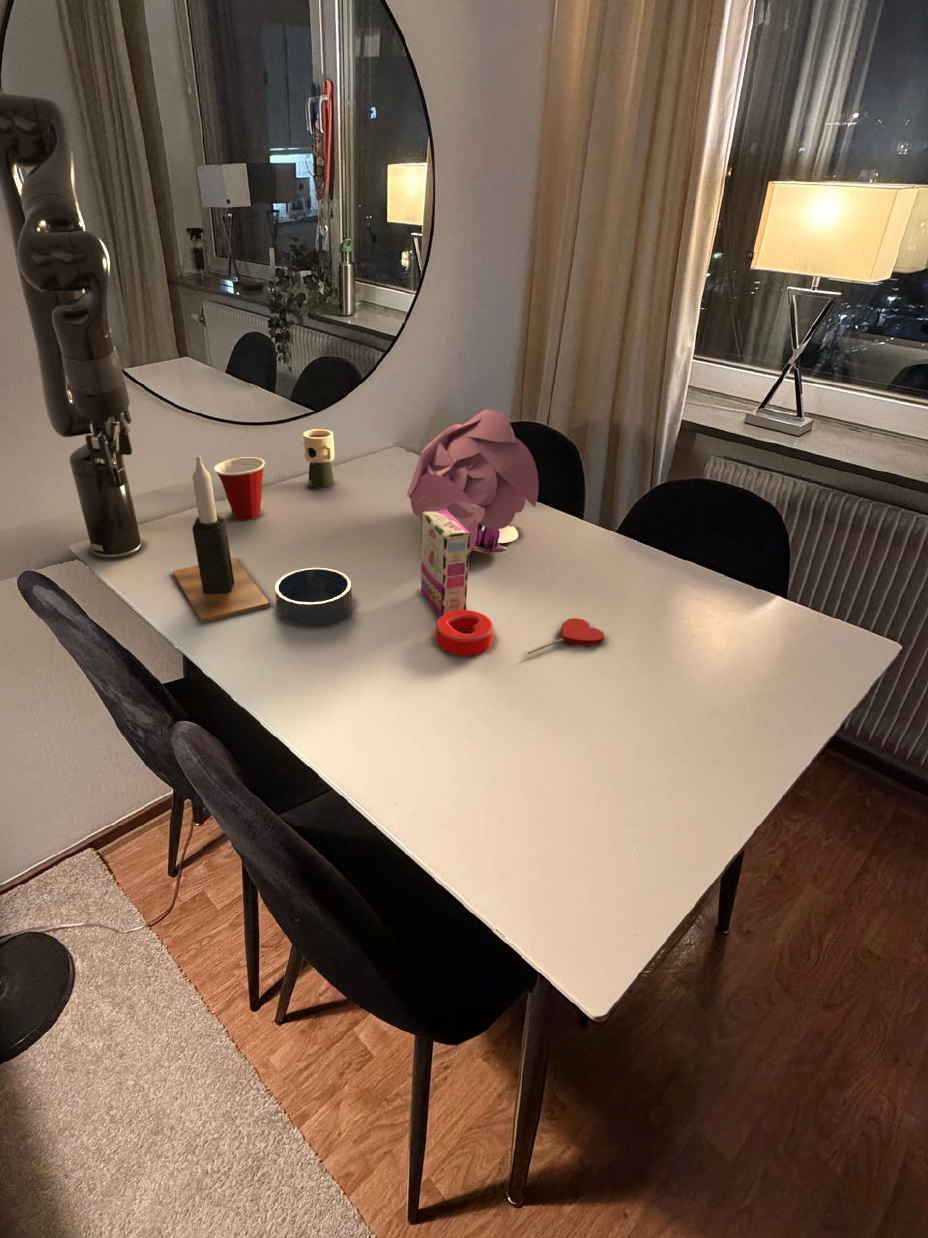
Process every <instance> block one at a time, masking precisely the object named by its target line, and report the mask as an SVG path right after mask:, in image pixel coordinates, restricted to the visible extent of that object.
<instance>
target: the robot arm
mask: <svg viewBox="0 0 928 1238" xmlns="http://www.w3.org/2000/svg"><path fill="white" fill-rule="evenodd" d="M19 169H31V170H30V172H29V173H28V174H27V175H26V176H25V178H24V180H22V179H21V176H20V174H19ZM76 185H77V184H76V168H75V160H74V151H73V143H72V137H71V133H70V129H69V125H68V121H67V118H66V115H65V112H64V111H63V109H62V107H61V106H60V105H59V104H58V102H56V101H55V100H53V99H51V98H48V97H43V96H38V95H28V94H19V93H7V92H0V193H1V196H2V200H3V204H4V206H5V207H4V208H5V211H6V215H7V219H8V224H9V229H10V233H11V240H12V244H13V250H14V255H15V260H16V266H17V270H18V271H17V272H18V275H19V276H18V277H19V280H20V285H21V289H22V294H23V298H24V302H25V305H26V309H27V313H28V316H29V322H30V326H31V329H32V334H33V337H34V342H35V348H36V352H37V359H38V365H39V372H40V373H39V374H40V381H41V386H42V393H43V399H44V405H45V410H46V414H47V417H48V420H49V423H50V424H51V427H52V429H53V430H54V432H55V433H56V434H57V435H58V436H60V437H62V438H74V437H80V436H85V442H86V443H84V444H83V445H81V446H80V447H79V448H77V449H75V450H74V451H72V453H70V455H69V465H70V468H71V473H72V477H73V481H74V484H75V487H76V493H77V495H78V499H79V504H80V507H81V513H82V516H83V519H84V520H83V521H84V524H85V527H86V532H87V535H88V540H89V543H90V549H91V554H92V555H93V556H94V557H97V558H100V559H105V560H113V559H114V560H116V559H122V558H126V557H130V556H132V555H135V554H136V553H138V552H139V551H140V550H142V548H143V541H142V539H141V535H140V529H139V524H138V519H137V516H136V510H135V507H134V502H133V496H132V492H131V487H130V482H129V479H128V474H127V469H126V465H125V464H126V463H125V459H124V456H131V455H132V453H133V447H132V443H131V439H130V432H131V431H130V429H131V428H130V426H129V424H131V423H132V418H131V414H130V411H129V406H130V397H129V393H128V389H127V385H126V380H125V376H124V371H123V367H122V364H121V359H120V357H119V355H118V352H117V349H116V345H115V341H114V337H113V333H112V329H111V324H110V319H109V308H108V307H109V306H108V302H109V301H108V298H109V287H110V277H111V276H110V275H111V261H110V255H109V252H108V250H107V247H106V245H105V244H104V242H103V241H102V240H101V239H100V237H98V235H97V234H95V233H93V232H91V231H88V230H86V226H85V223H84V218H83V215H82V212H81V207H80V205H79V201H78V197H77V196H78V195H77V190H76V189H77V187H76Z"/></svg>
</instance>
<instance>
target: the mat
mask: <svg viewBox="0 0 928 1238" xmlns="http://www.w3.org/2000/svg"><path fill="white" fill-rule="evenodd" d="M231 563H232V570H233V577H234V583H233V585H232V587H231V589H232V590H231V591H230V592H229V593H219V594H207V593H204V592H203V589H202V583H201V577H200V571H199V565H195V566H190V567H185V568H180V569H175V570H172V575H173V577H174V578H175V581H176V582H177V583H178V585H179V588H181V590H182V592H183V593H184V595H185V597H186V598H187V600H188V602H189V603H190V605H191V607H192V608H193V610H194V612H195V614H196V615H197V617H198V619H199V620H200V622H201V623H202V624H205V623H209V622H214V621H217V620H220V619H224V618H229V617H233V616H237V615H240V614H241V615H242V614H245V613H249V612H253V611H257V610H261V609H264V608H269V607H271V606H270V605H271V604H270V601H269V600H268V599H267V598H266V596H265V595H264V594H263V593H262V591H261V590H260V588H259V587H258V586H257V585H256V583H255V582H254V581H253V580H252V578H251V577H250V575H249V574H248V573H247V571H245V569H244V567H242V565H241V564H240V563H239V562H238V560H237V559H236V557H231Z"/></svg>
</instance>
